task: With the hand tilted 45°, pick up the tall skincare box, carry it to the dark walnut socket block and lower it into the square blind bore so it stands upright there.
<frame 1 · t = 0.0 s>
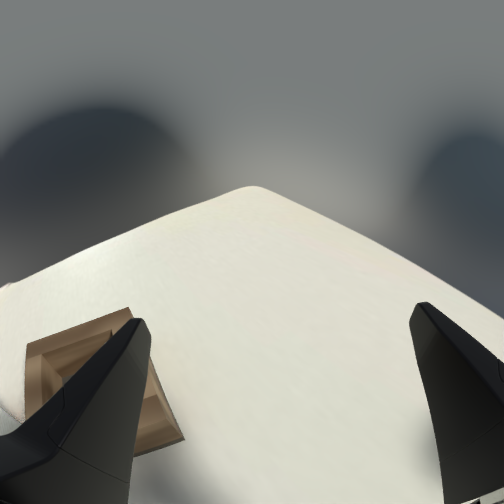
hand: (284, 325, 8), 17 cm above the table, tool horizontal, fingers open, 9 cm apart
socket block: (103, 403, 21), on the table
skincare box: (13, 444, 15), on the table
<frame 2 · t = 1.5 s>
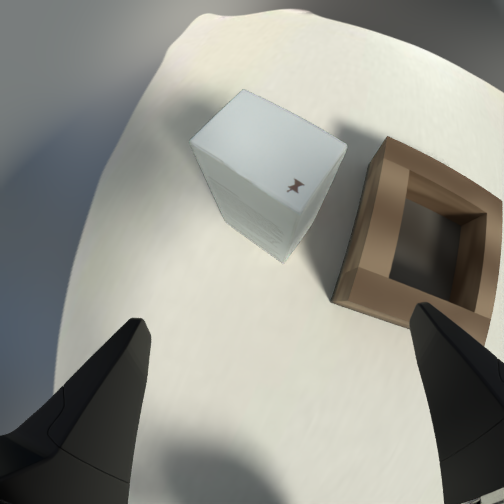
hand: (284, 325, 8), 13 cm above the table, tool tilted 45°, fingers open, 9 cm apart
socket block: (416, 253, 22), on the table
skincare box: (268, 223, 23), on the table
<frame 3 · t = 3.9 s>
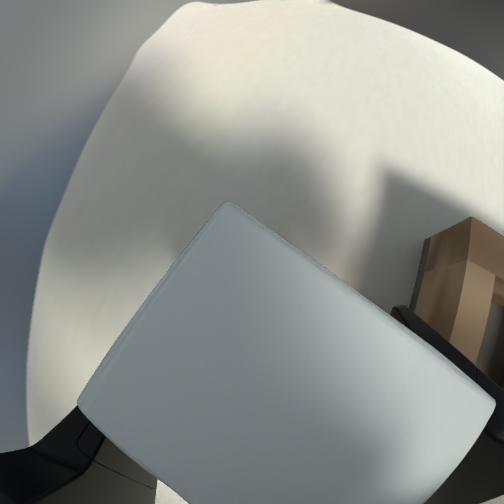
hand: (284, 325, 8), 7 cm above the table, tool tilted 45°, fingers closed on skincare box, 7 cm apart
socket block: (468, 362, 13), on the table
skincare box: (277, 341, 15), on the table, touching gripper
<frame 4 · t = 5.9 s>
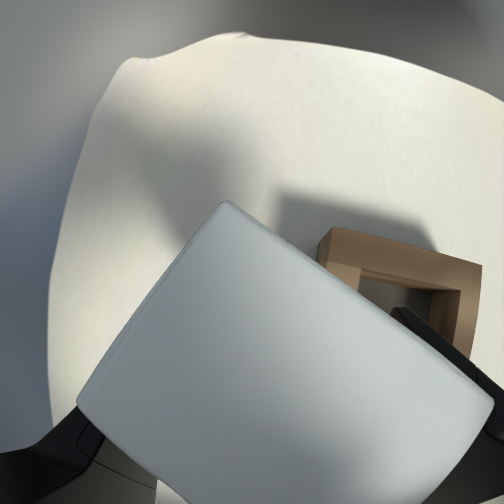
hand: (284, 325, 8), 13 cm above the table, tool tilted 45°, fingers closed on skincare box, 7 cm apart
socket block: (378, 336, 21), on the table
skincare box: (276, 341, 15), point 6 cm above the table, touching gripper
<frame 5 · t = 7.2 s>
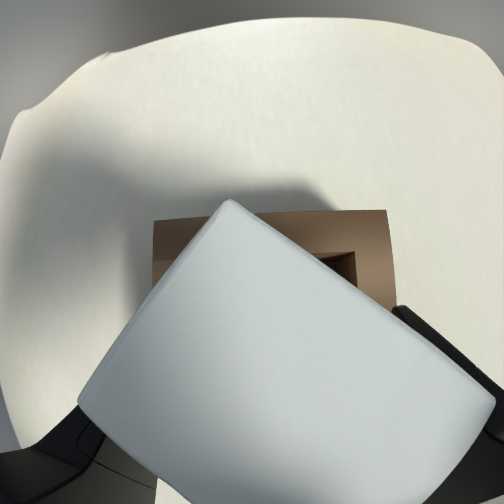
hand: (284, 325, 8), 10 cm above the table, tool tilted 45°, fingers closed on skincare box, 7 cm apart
socket block: (275, 329, 18), on the table
skincare box: (276, 340, 15), point 4 cm above the table, touching gripper
when the fingers open (9 cm above the table, at t = 8.1 s): skincare box drops 1 cm, resting on socket block.
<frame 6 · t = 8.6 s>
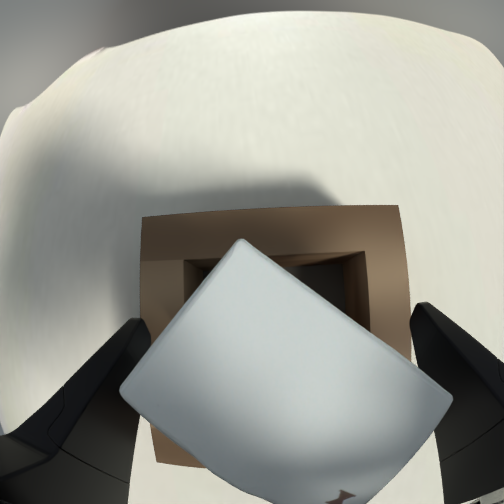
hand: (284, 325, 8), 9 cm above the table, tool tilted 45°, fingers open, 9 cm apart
socket block: (276, 337, 17), on the table
skincare box: (276, 341, 16), point 1 cm above the table, touching socket block
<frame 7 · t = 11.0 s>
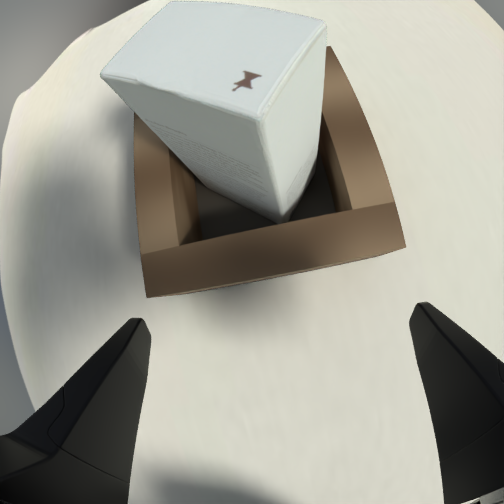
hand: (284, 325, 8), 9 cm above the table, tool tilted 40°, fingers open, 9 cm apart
socket block: (260, 180, 18), on the table
skincare box: (259, 179, 18), point 1 cm above the table, touching socket block
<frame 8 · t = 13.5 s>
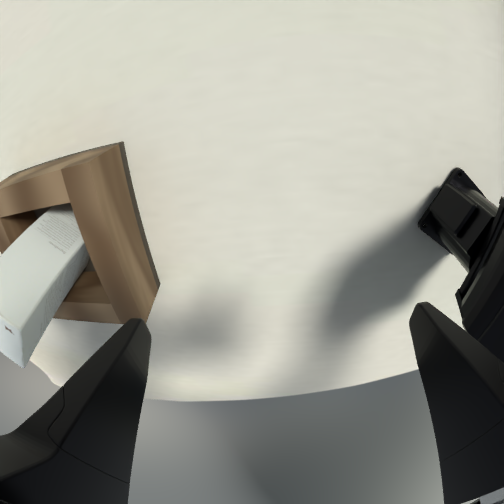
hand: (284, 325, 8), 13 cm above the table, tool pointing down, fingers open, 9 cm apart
socket block: (78, 227, 21), on the table
skincare box: (77, 230, 21), point 1 cm above the table, touching socket block
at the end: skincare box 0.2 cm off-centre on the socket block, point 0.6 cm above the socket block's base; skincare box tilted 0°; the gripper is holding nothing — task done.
